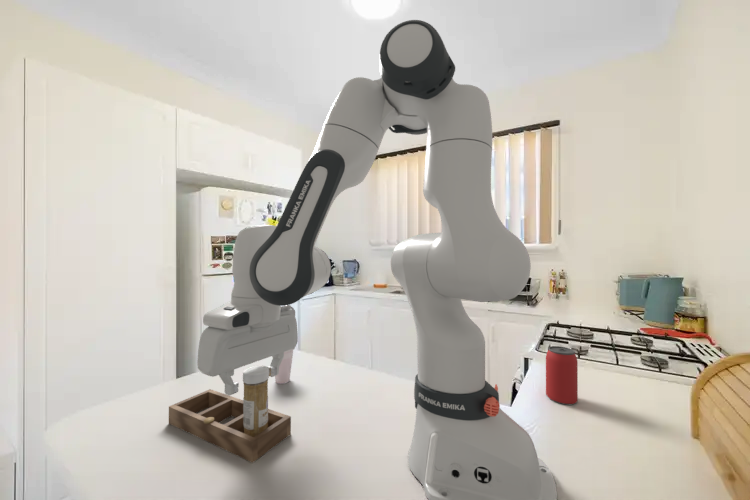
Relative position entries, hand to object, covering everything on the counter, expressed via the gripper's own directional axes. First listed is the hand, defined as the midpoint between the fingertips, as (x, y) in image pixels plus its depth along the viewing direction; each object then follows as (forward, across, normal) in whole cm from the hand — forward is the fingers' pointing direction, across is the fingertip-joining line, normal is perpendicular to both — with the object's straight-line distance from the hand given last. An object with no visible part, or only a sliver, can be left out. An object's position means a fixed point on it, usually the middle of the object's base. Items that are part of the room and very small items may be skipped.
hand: (253, 383), depth 57 cm
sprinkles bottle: (+11, 0, +1) cm, 11 cm away
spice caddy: (+11, 0, -7) cm, 13 cm away
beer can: (+9, -47, +53) cm, 71 cm away
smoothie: (+10, -22, -14) cm, 29 cm away
